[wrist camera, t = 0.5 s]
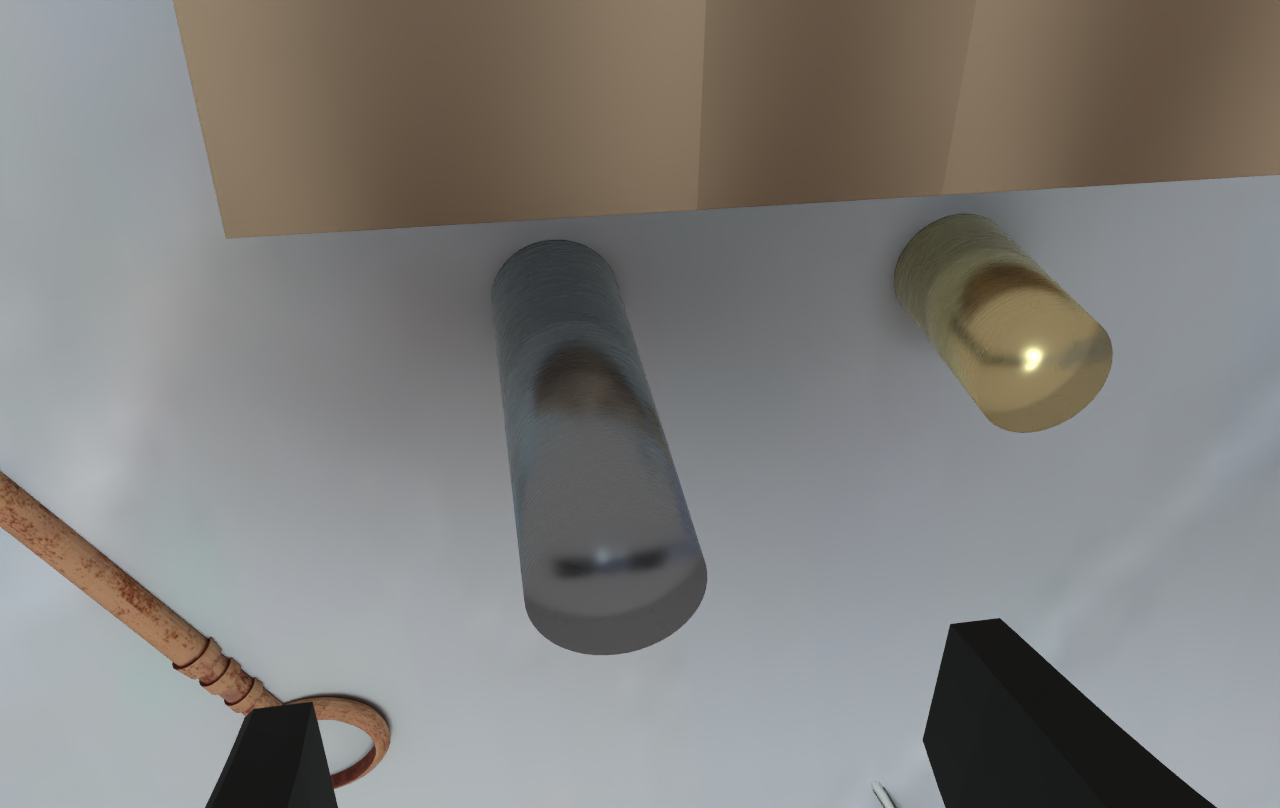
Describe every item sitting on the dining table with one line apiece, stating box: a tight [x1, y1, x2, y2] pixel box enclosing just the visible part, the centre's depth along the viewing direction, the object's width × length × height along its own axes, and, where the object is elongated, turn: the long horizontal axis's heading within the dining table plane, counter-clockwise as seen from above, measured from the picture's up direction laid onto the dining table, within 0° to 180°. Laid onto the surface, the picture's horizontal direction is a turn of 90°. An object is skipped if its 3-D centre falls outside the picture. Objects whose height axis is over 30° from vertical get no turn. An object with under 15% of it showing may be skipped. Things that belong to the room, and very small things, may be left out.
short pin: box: [894, 214, 1113, 433], centre depth 20 cm, size 2×2×4 cm
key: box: [0, 471, 390, 789], centre depth 23 cm, size 6×1×15 cm
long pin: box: [492, 240, 707, 655], centre depth 17 cm, size 2×2×8 cm
